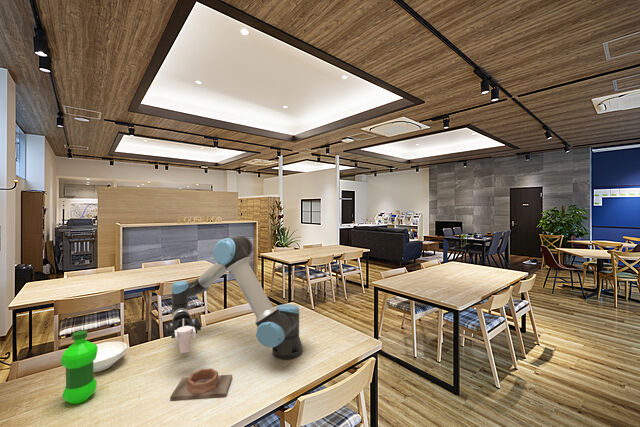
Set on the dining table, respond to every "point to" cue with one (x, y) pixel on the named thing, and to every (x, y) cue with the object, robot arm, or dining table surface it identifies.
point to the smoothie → (184, 338)
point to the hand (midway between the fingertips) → (185, 337)
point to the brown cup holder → (202, 386)
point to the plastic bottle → (79, 369)
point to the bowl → (108, 355)
